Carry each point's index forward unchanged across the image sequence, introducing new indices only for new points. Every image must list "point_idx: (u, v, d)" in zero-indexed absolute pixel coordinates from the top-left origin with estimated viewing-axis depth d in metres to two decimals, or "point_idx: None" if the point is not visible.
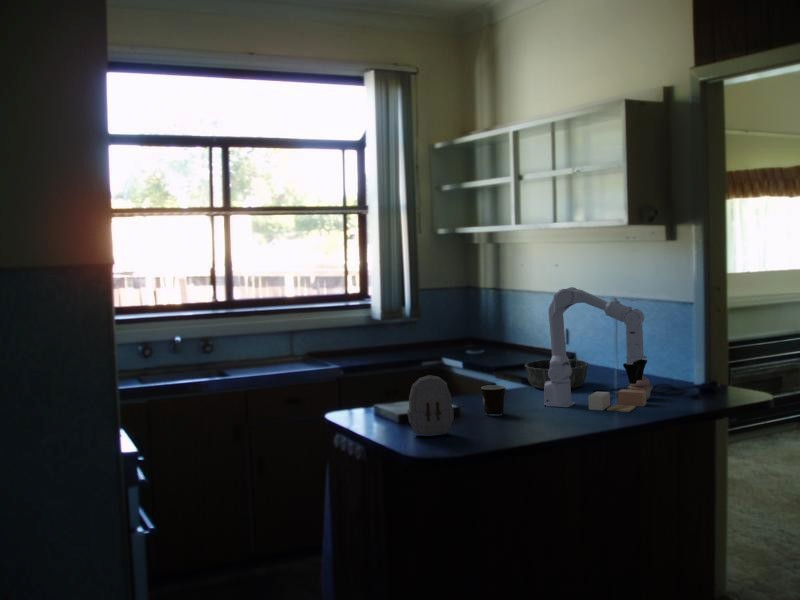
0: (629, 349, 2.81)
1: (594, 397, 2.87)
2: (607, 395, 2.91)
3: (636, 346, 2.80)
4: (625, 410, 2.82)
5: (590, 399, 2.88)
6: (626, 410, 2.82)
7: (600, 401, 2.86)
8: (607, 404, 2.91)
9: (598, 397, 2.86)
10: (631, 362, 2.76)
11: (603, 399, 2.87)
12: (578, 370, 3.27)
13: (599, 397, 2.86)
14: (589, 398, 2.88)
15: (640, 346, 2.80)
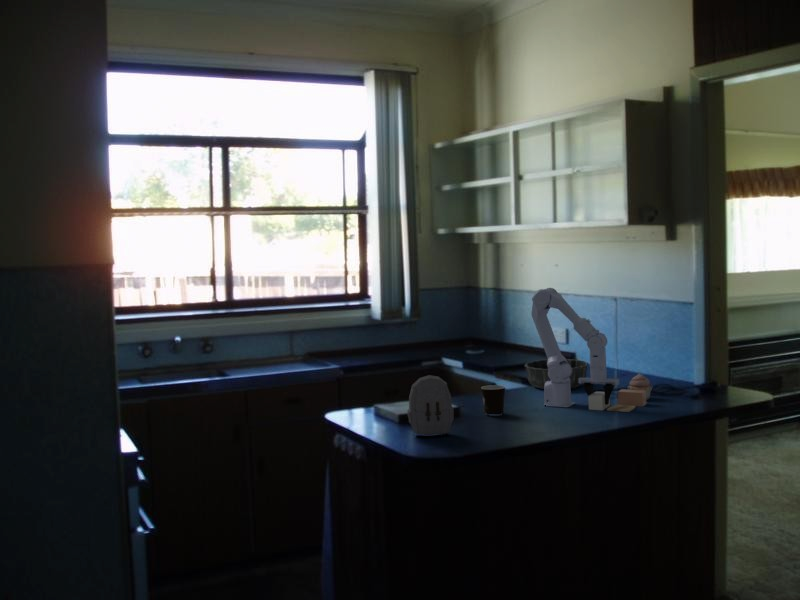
0: None
1: (594, 397, 2.87)
2: None
3: (590, 368, 2.90)
4: (625, 410, 2.82)
5: (590, 399, 2.88)
6: (626, 410, 2.82)
7: (600, 401, 2.86)
8: None
9: (598, 397, 2.86)
10: None
11: (603, 399, 2.87)
12: (578, 370, 3.27)
13: (599, 397, 2.86)
14: (589, 398, 2.88)
15: (592, 369, 2.89)
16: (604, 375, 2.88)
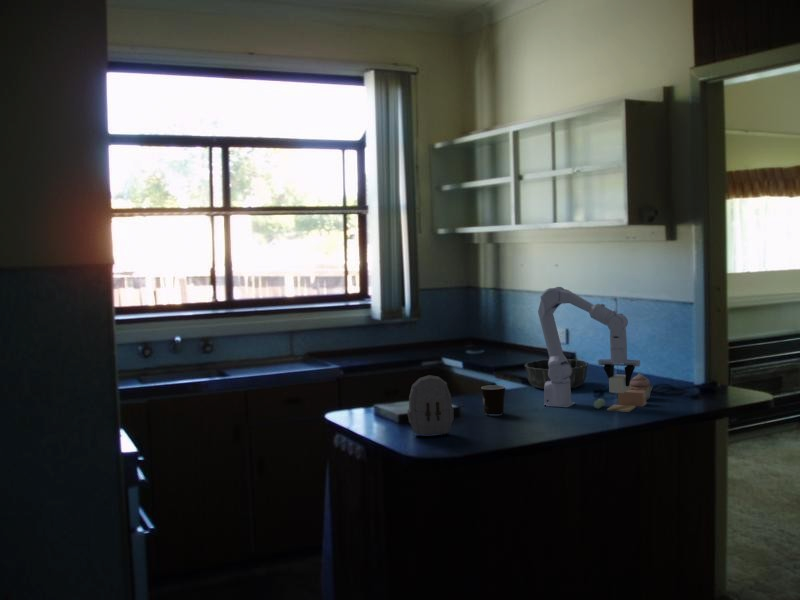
0: None
1: (615, 379, 2.83)
2: None
3: (610, 349, 2.86)
4: (625, 410, 2.82)
5: (610, 382, 2.84)
6: (626, 410, 2.82)
7: (621, 383, 2.82)
8: (628, 387, 2.87)
9: (619, 379, 2.82)
10: None
11: (624, 381, 2.83)
12: (578, 370, 3.27)
13: (620, 379, 2.82)
14: (610, 381, 2.84)
15: (612, 350, 2.85)
16: (625, 356, 2.84)
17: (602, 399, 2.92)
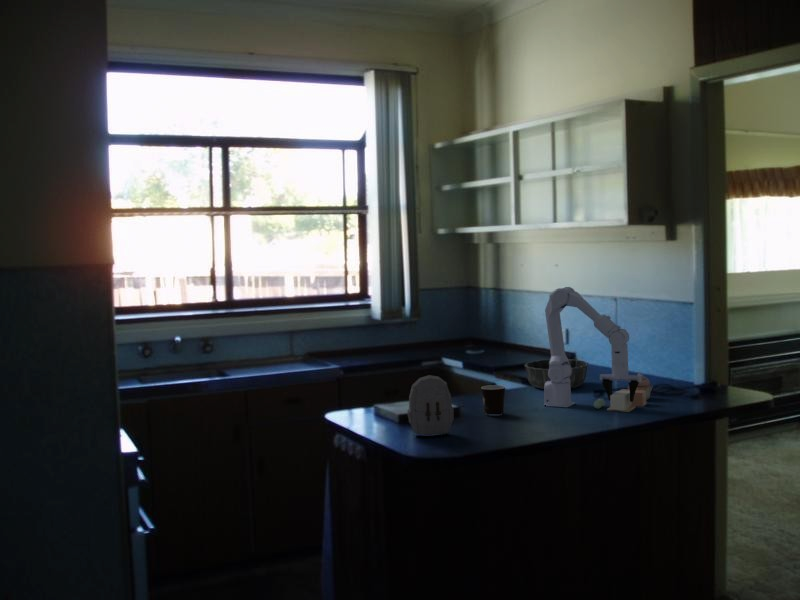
0: None
1: (616, 397, 2.83)
2: (629, 395, 2.87)
3: None
4: (625, 410, 2.82)
5: (611, 399, 2.84)
6: (626, 410, 2.82)
7: (622, 401, 2.82)
8: (629, 404, 2.87)
9: (620, 397, 2.82)
10: (600, 378, 2.89)
11: (625, 399, 2.83)
12: (578, 370, 3.27)
13: (621, 397, 2.82)
14: (611, 398, 2.84)
15: (613, 365, 2.85)
16: (626, 371, 2.84)
17: (602, 399, 2.92)
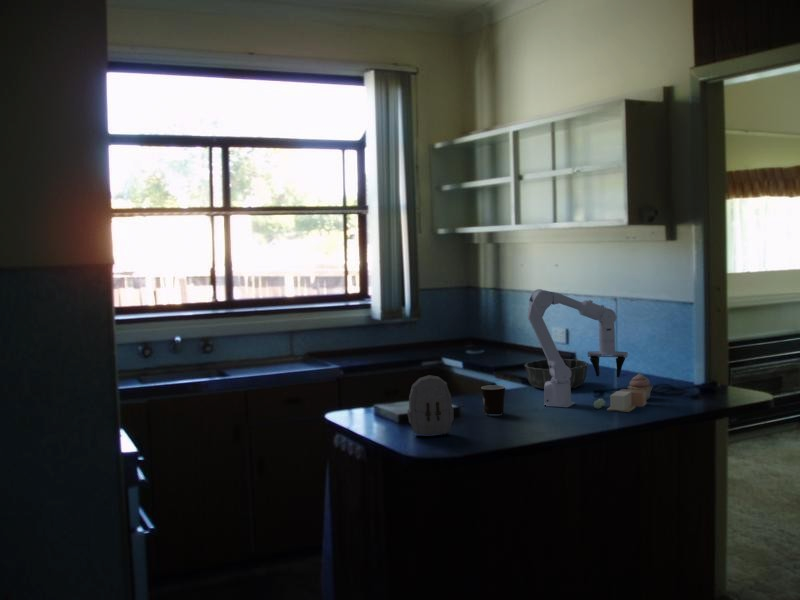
0: None
1: (616, 397, 2.83)
2: (629, 395, 2.87)
3: (599, 342, 2.98)
4: (625, 410, 2.82)
5: (611, 399, 2.84)
6: (626, 410, 2.82)
7: (622, 401, 2.82)
8: (629, 404, 2.87)
9: (620, 397, 2.82)
10: None
11: (625, 399, 2.83)
12: (578, 370, 3.27)
13: (621, 397, 2.82)
14: (611, 398, 2.84)
15: (601, 342, 2.96)
16: (613, 348, 2.96)
17: (602, 399, 2.92)
